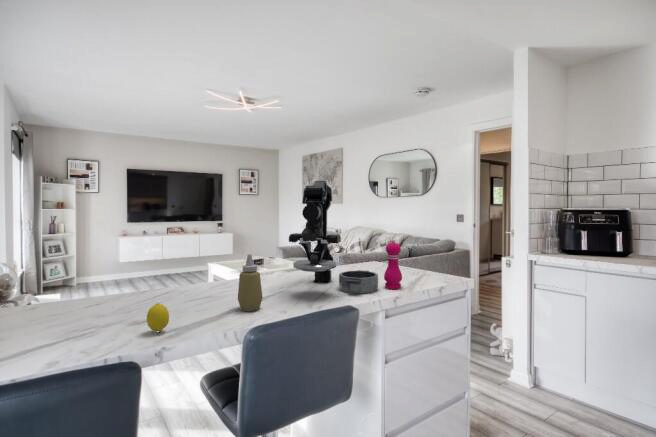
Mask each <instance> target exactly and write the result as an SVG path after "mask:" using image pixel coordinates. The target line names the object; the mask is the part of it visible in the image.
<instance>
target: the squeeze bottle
mask: <svg viewBox="0 0 656 437" xmlns="http://www.w3.org/2000/svg"><path fill="white" fill-rule="evenodd" d="M238 280H239V281H238V289H237V290H238V291H237V301H238V304H239V306H240V309H241V311H244V312H254V311H257V310H259V309H260V308H261V304H262V300H263V290H262V283H261V280H262V279H261V272H259V271H258V265H257V264H255V263H254V260H253V255H252V254H247V257H246V262H245V264H243V265H242V271H241V272H240V273H239V279H238Z"/></svg>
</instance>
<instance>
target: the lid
mask: <svg viewBox="0 0 656 437" xmlns="http://www.w3.org/2000/svg"><path fill="white" fill-rule="evenodd" d="M292 264H293V265H292V266H293V268H295V269H296V270H300V271H303V272H313V273H315V272H320V271H327V270H329V269H330V270H332V269H334V268H336V267H337V262H336V261H334V260H333V261H330V260H321V261H320V262H319V252H313V251H311V252H310V261H309V260H308V259H302V260H301V259H300V260H296V261H294V262H293V263H292Z"/></svg>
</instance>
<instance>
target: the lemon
mask: <svg viewBox="0 0 656 437" xmlns="http://www.w3.org/2000/svg"><path fill="white" fill-rule="evenodd" d="M169 321H170V314H169V310H168V308H167V307H166V306H165V305H163V304H162V303H161V304H160V303H159V302H157V303H155V304H154V305H152V306H151V307H150V308H149V309H148V311H147V314H146V323H147V326H148V328H150V329H151V330H152V331H155V332H156V331H160V332H161V331H162V330H164V329H165V328H166V327H167V326H168V324H169Z"/></svg>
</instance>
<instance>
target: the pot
mask: <svg viewBox="0 0 656 437" xmlns="http://www.w3.org/2000/svg"><path fill="white" fill-rule="evenodd" d="M338 281H339V282H338V287H339V290H340V292H343V293H345V294H354V295H365V294H368V293H369V294H372V293H373V292H374V293H376V292H378V288H379V274H378V273H377V272H374V271H370V270H364V269H363V270H360V269H357V270H346V271H342V272H340V273H339V274H338Z"/></svg>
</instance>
